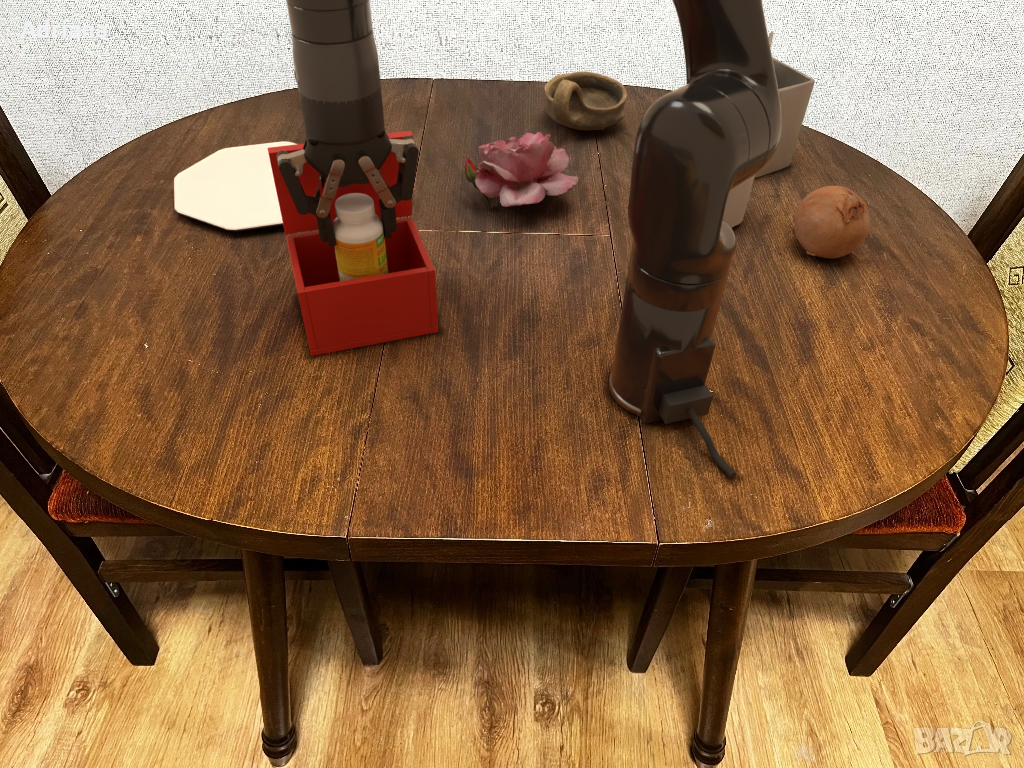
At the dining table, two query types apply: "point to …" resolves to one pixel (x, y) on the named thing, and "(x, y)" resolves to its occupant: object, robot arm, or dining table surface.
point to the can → (737, 202)
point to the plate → (231, 189)
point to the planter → (789, 111)
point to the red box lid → (309, 179)
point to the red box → (364, 293)
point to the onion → (831, 222)
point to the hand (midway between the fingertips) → (359, 237)
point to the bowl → (585, 100)
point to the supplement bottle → (358, 238)
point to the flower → (520, 170)
